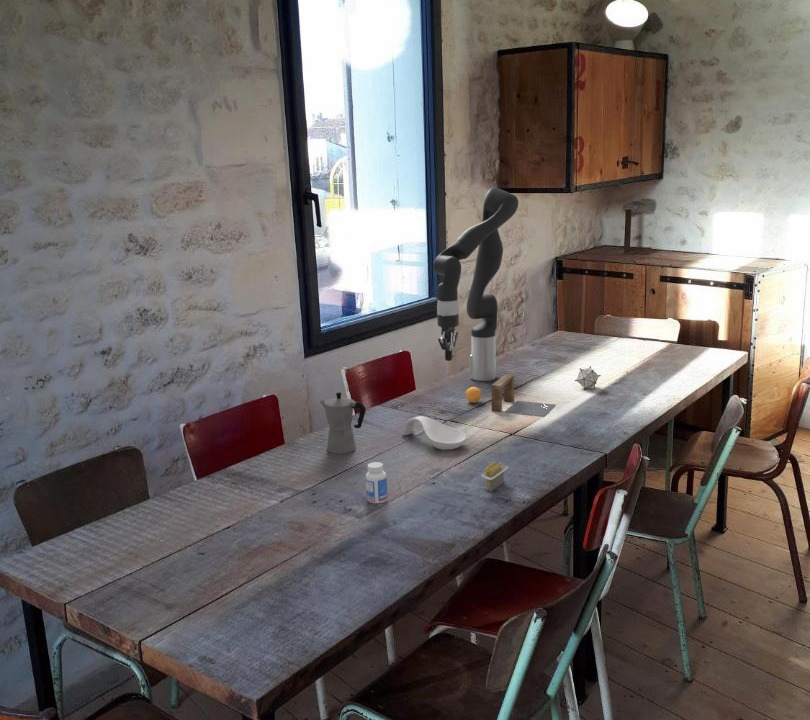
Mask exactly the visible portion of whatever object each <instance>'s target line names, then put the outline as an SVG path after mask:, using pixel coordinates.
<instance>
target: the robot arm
mask: <svg viewBox="0 0 810 720" xmlns="http://www.w3.org/2000/svg"><path fill="white" fill-rule="evenodd" d="M518 207H519V199H518V197H517V195H514V194H513V193H511V192H508V191H505V190H504V189H501V188H498V187H492V188H490V189H489V190H488V191H487V192H486V195H485V198H484V201H483V208H482V221H481V222H479V223H478V224H475V225H473V226H471V227H468V228H467V229H466V230H464V232H462V234H460V236H459V237H458V238H457V239H456V240H455V241H454V243H452V244H451V245H450V246H448V247H447V248H446V249H445V248H444V250H443V251H442V252H440V253H438V255H437V256H436V257H435V258H434V260H433V265H432V269H433V272H434V273H435V274H436V275H439V276H443V281H442V282H440V283H439V284H438V285H437V290H436V291H437V303H436V315H437V316H436V319H437V327H440V329H441V330H440V331H441V332H440V337H439V338H438V339H437V340H438V343H439V346H440V348H441V350H442V351H444V360H445V361H447V362H450V361H452V360H453V350H454V348H455V346H456V343H457V339H458V335H459V331H456V327H458V326H459V324H460V322H459V321H460V320H459V315H460V314H459V302H458V301H459V299H458V294H459V293H458V287H459V284H460V279H461V274H462V263H461V262H460V261H462V260H465V259H467V258H469V257H470V256H471V254H473V253H474V251H475V250H476V249H477V248H478V249H477V255H476V258H475V259H476V260H475V267H474V273H473V277H472V282H471V286H470V289H469V292H468V296H467V300H466V314H467V317H469V318H470V319H471V320H479V319H481V321H480V322H479V323H478V324H476V325H475V326H473V327H472V328H471V330H470V331H471V333H470V334H471V338H470V339H471V354H470V355H469V379H470V380H474V381H479V382H487V381H488V382H489V381H490V382H491V381H493V380H496V372H497V371H496V331H497V328H498V327H497V325H498V302H497V299H496V296H495V295H494V293H485V290H486V288H487V286H488V285H489V283H490V282H491V281H492V280H493V278H494V277H495V276H496V274H497V273H498V271H499V270H500V268H501V265H502V261H503V259H502V258H503V254H504V246H503V243H502V239H501V235H500V232H499V228H500V227H502V226H503V225H504V224H505V223H506V222H508V221H509V220H510V219H511V218H512V217H513V216H514V215H515V214H516V212H517V210H518Z"/></svg>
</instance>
